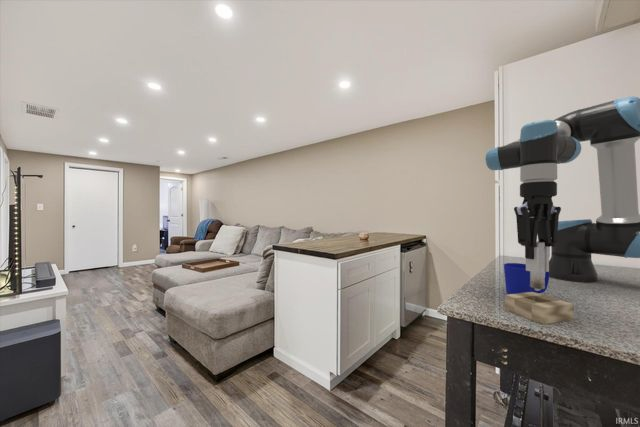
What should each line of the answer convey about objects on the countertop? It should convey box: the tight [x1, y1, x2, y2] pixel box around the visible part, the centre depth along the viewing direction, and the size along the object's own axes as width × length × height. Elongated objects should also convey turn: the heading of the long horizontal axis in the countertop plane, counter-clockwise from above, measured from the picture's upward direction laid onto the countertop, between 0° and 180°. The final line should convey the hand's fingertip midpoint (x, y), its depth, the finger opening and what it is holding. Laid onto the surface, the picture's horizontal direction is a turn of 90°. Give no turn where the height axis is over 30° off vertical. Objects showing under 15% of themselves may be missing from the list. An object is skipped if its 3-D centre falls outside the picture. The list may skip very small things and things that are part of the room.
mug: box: [503, 262, 550, 295], centre depth 82 cm, size 8×12×10 cm
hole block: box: [504, 292, 574, 325], centre depth 69 cm, size 10×10×4 cm
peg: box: [530, 241, 545, 290], centre depth 69 cm, size 3×3×12 cm
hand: (537, 270), depth 69 cm, fingers closed on peg, 3 cm apart
